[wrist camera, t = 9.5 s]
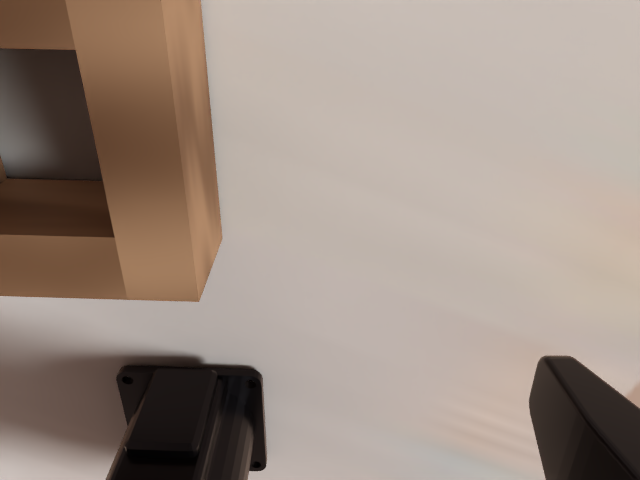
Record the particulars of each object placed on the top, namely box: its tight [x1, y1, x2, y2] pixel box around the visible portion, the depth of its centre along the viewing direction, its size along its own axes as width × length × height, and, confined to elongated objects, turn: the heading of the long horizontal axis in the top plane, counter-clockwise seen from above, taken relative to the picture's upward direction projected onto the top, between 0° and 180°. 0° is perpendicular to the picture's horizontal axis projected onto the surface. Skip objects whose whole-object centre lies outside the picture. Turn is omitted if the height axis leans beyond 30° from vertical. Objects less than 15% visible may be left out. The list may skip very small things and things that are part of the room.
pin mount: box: [0, 0, 222, 302], centre depth 17 cm, size 10×10×4 cm
